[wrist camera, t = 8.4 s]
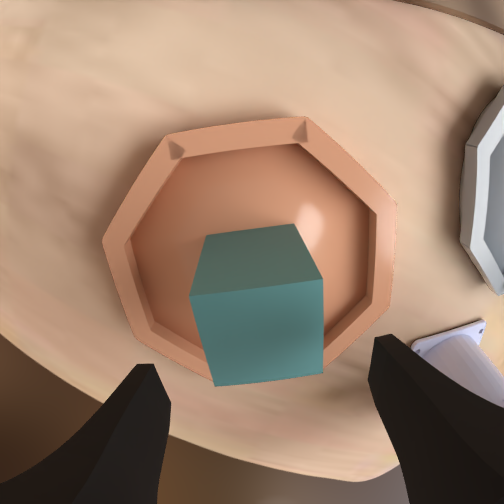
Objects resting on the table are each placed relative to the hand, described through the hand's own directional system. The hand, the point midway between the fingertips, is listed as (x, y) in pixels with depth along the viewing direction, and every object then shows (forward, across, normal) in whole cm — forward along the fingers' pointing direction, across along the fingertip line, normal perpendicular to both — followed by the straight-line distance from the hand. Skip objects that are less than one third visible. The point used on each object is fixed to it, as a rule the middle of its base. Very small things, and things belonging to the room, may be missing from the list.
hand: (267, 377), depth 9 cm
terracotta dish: (+9, 0, 0) cm, 9 cm away
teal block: (+8, 0, 0) cm, 8 cm away
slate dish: (+9, -21, -3) cm, 23 cm away
